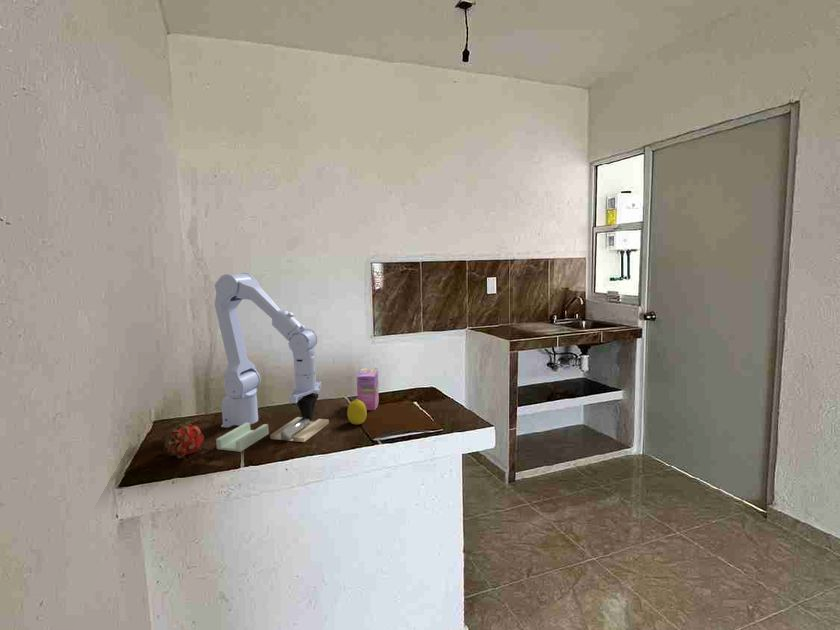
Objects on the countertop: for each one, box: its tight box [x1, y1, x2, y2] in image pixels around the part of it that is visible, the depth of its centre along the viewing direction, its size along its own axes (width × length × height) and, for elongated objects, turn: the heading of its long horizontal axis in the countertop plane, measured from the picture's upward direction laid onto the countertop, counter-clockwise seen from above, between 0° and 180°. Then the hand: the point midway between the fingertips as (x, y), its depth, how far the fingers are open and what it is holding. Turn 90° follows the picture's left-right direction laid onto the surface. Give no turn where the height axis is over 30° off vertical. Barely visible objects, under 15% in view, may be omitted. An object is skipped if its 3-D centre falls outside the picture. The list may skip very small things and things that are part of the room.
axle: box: [281, 416, 311, 441], centre depth 128 cm, size 10×3×3 cm, turn 164°
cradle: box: [215, 423, 270, 453], centre depth 123 cm, size 7×12×4 cm, turn 164°
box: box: [356, 367, 380, 411], centre depth 150 cm, size 10×6×12 cm, turn 179°
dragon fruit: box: [163, 422, 205, 459], centre depth 118 cm, size 8×8×12 cm
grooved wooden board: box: [269, 416, 330, 443], centre depth 130 cm, size 10×14×2 cm
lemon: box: [347, 398, 368, 426], centre depth 135 cm, size 6×6×8 cm
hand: (307, 420), depth 133 cm, fingers closed
